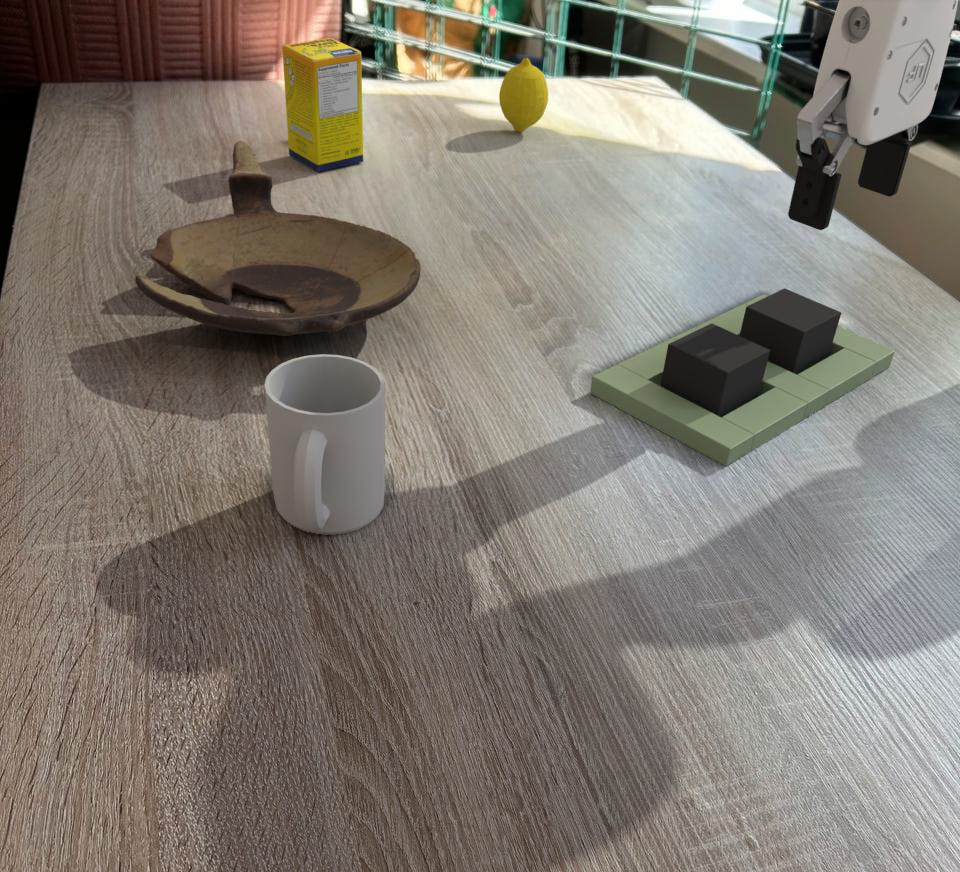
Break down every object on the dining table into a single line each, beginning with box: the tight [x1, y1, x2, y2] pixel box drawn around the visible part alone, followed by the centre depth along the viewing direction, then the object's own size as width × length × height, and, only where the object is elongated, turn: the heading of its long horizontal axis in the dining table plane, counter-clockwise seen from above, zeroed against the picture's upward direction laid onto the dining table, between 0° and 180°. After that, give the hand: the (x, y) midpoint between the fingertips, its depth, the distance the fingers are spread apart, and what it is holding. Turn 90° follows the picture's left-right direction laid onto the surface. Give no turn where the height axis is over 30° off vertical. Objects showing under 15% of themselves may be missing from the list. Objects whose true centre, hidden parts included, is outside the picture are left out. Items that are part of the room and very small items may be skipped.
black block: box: [660, 323, 770, 418], centre depth 84 cm, size 6×6×4 cm
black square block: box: [739, 288, 842, 375], centre depth 89 cm, size 6×6×4 cm
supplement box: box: [281, 37, 364, 173], centre depth 114 cm, size 6×6×11 cm
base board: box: [589, 293, 896, 467], centre depth 88 cm, size 23×13×2 cm, turn 135°
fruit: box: [498, 56, 549, 133], centre depth 125 cm, size 6×6×8 cm
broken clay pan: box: [134, 140, 421, 337], centre depth 91 cm, size 22×30×8 cm
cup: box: [264, 353, 386, 536], centre depth 68 cm, size 7×10×9 cm
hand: (842, 206), depth 84 cm, fingers open, 9 cm apart
